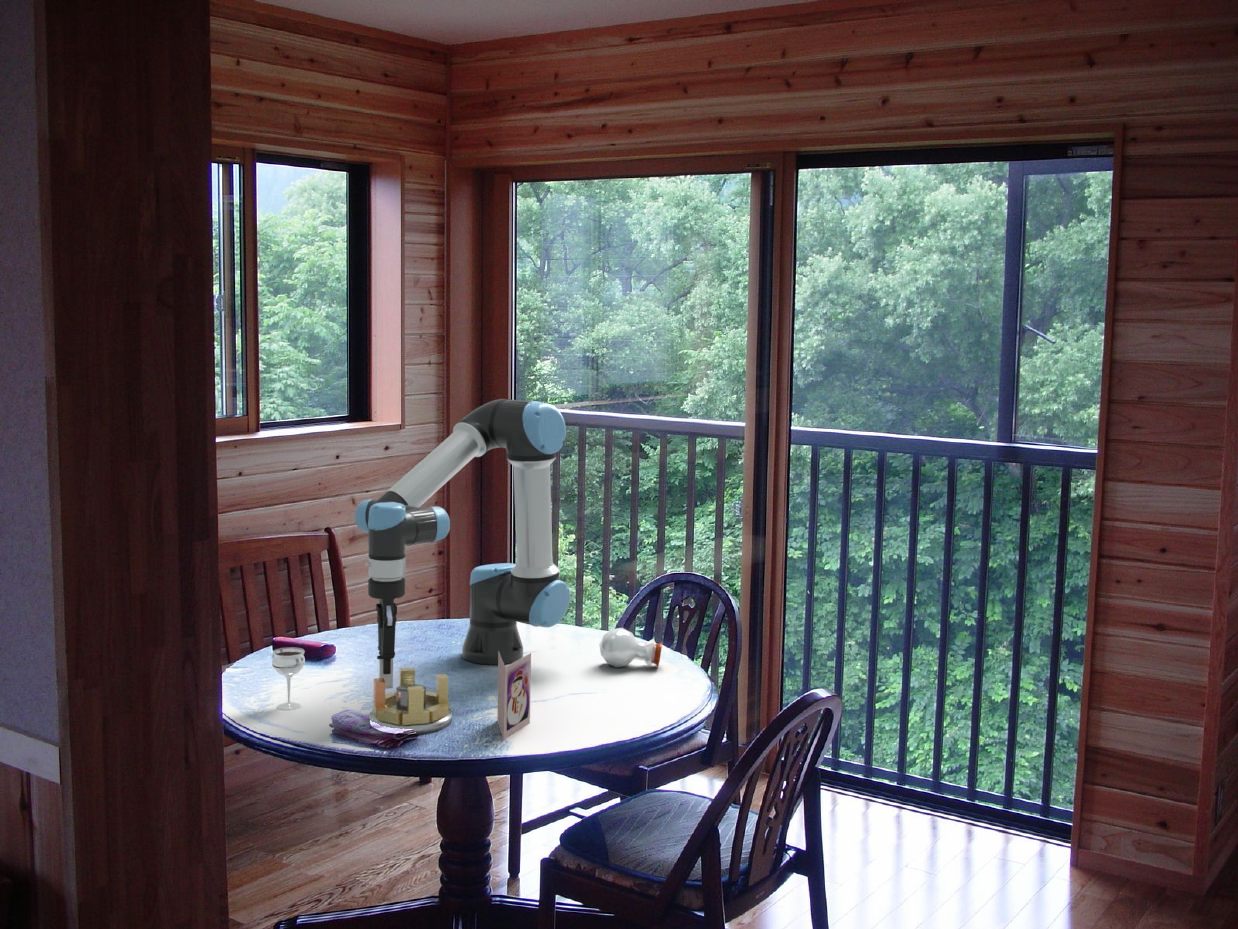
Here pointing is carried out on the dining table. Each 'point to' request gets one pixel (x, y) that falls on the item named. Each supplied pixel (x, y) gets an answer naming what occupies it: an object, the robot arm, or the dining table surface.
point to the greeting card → (513, 695)
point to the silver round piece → (402, 705)
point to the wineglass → (288, 669)
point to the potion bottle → (628, 649)
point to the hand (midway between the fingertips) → (385, 687)
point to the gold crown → (411, 701)
